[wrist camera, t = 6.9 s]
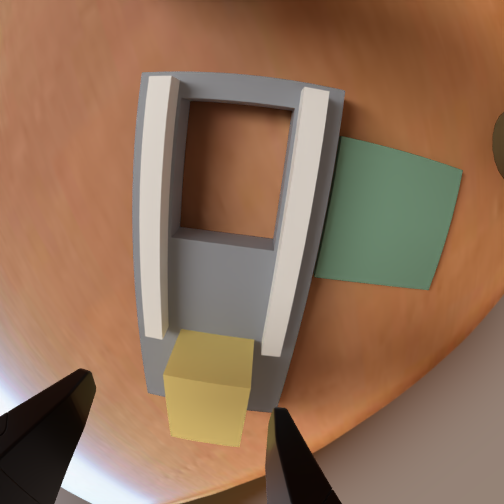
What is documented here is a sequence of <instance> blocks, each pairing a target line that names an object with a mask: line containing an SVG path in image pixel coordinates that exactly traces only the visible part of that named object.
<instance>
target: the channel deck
mask: <svg viewBox="0 0 504 504" xmlns="http://www.w3.org/2000/svg"><path fill="white" fill-rule="evenodd" d="M344 96H345V91H344V90H340V89H335V88H330V87H326V86H321V85H315V84H310V83H304V82H298V81H292V80H286V79H278V78H271V77H263V76H253V75H243V74H230V73H214V72H144V73H142V77H141V84H140V92H139V101H138V110H137V121H136V133H135V147H134V165H133V203H132V222H133V259H134V278H135V293H136V305H137V316H138V326H139V335H140V343H141V351H142V358H143V365H144V372H145V378H146V384H147V390H148V393H150V394H155V395H159V396H164V397H165V388H164V379H163V373H164V371H165V368H166V366H167V363H168V360H169V358H170V355H171V353H172V350H173V348H174V345H175V343H176V340H177V338H178V335H179V333H180V330H181V329H186V330H191V331H198V332H204V333H210V334H217V335H224V336H231V337H239V338H246V339H254V350H253V364H252V378H251V390H250V395H249V400H248V405H247V410H250V411H260V412H271V413H272V410H273V408H274V407H277V406H278V403H279V400H280V396H281V393H282V390H283V386H284V383H285V379H286V376H287V372H288V369H289V365H290V362H291V358H292V355H293V351H294V347H295V343H296V340H297V336H298V332H299V328H300V324H301V321H302V317H303V313H304V309H305V304H306V300H307V296H308V292H309V288H310V284H311V279H312V275H313V271H314V266H315V262H316V257H317V252H318V248H319V243H320V238H321V234H322V229H323V224H324V219H325V214H326V208H327V203H328V198H329V192H330V187H331V181H332V176H333V170H334V164H335V158H336V152H337V145H338V139H339V132H340V125H341V118H342V111H343V104H344ZM190 101H201V102H218V103H231V104H241V105H251V106H260V107H268V108H276V109H283V110H289V111H292V114H291V122H290V129H289V136H288V143H287V150H286V157H285V164H284V171H283V178H282V185H281V192H280V199H279V205H278V212H277V218H276V225H275V231H274V238H273V239H270V238H263V237H255V236H248V235H240V234H232V233H224V232H216V231H208V230H200V229H192V228H184V227H180V220H181V201H182V185H183V171H184V158H185V147H186V136H187V126H188V117H189V108H190Z"/></svg>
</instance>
